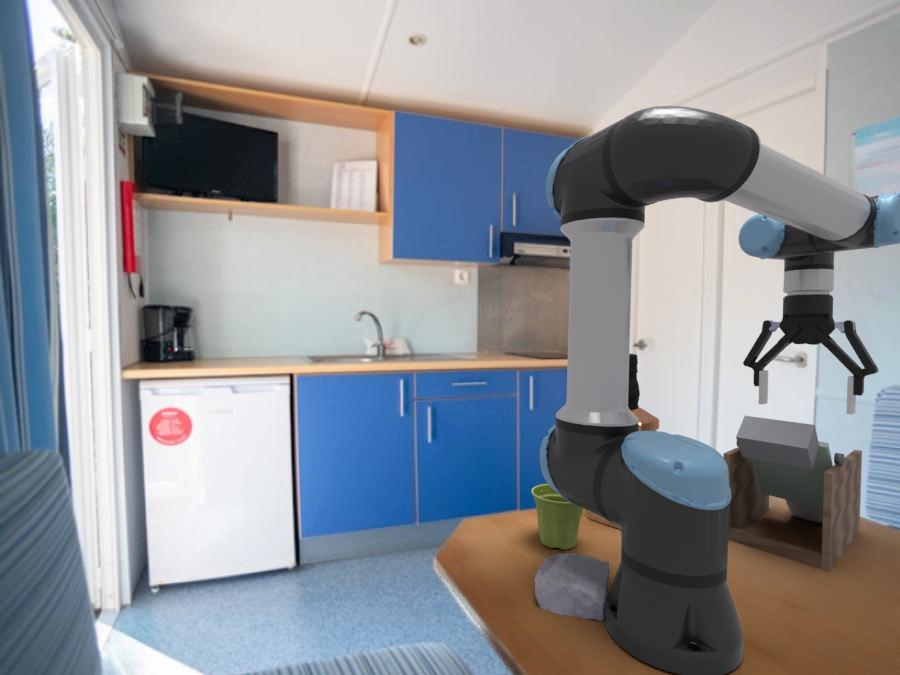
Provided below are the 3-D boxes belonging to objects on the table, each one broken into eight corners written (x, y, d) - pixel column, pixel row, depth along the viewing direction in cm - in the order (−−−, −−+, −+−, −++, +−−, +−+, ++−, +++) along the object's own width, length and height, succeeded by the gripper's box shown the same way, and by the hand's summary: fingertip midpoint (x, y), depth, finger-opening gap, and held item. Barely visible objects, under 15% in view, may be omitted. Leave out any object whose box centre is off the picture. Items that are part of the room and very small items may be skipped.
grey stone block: (828, 475, 91) (835, 498, 95) (790, 468, 96) (798, 490, 100) (821, 502, 89) (829, 525, 92) (783, 494, 93) (792, 516, 97)
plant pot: (558, 526, 90) (559, 480, 90) (598, 546, 82) (599, 495, 82) (519, 538, 85) (520, 489, 85) (558, 560, 77) (559, 506, 77)
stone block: (533, 624, 64) (612, 625, 61) (526, 587, 64) (604, 586, 61) (546, 583, 75) (614, 582, 72) (541, 551, 76) (608, 548, 72)
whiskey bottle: (613, 505, 101) (616, 351, 100) (661, 519, 94) (664, 354, 93) (586, 518, 94) (589, 353, 93) (636, 535, 87) (639, 356, 86)
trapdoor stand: (829, 571, 75) (832, 461, 74) (721, 537, 86) (723, 442, 86) (859, 532, 89) (862, 440, 89) (763, 507, 101) (765, 426, 100)
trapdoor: (815, 449, 74) (823, 421, 77) (729, 435, 83) (740, 410, 86) (834, 535, 84) (841, 507, 86) (755, 514, 93) (764, 489, 96)
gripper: (901, 292, 84) (897, 415, 84) (741, 297, 102) (738, 398, 103) (894, 290, 79) (890, 421, 79) (727, 296, 98) (724, 401, 98)
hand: (804, 408), depth 91 cm, fingers open, 13 cm apart
